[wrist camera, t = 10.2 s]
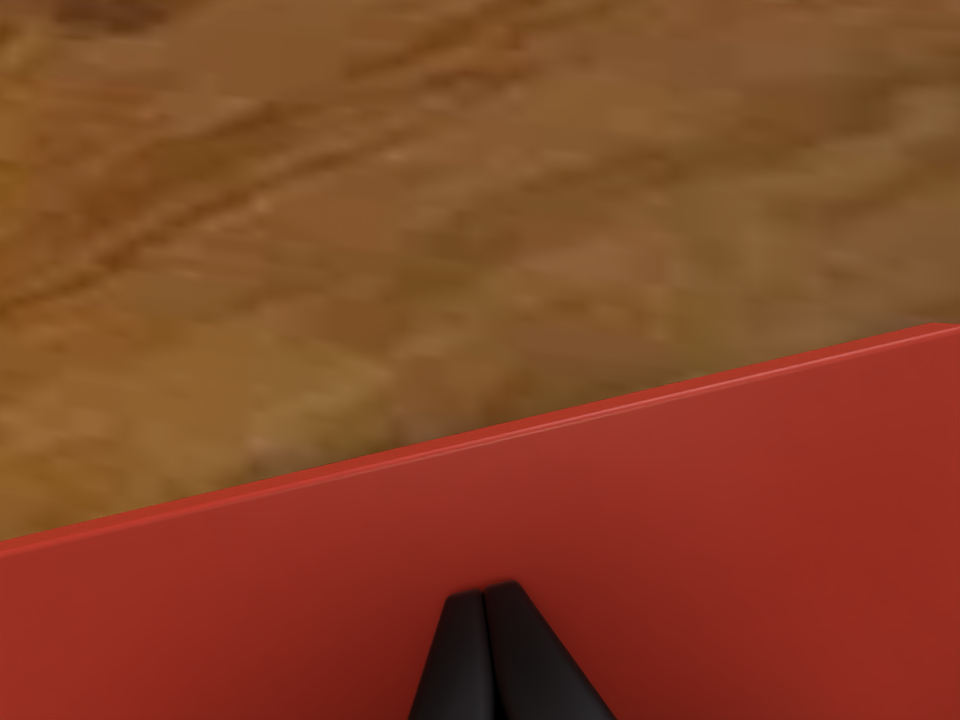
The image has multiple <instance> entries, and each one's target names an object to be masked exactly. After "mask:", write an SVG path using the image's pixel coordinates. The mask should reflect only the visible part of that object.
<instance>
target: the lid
mask: <svg viewBox="0 0 960 720" xmlns="http://www.w3.org/2000/svg"><path fill="white" fill-rule="evenodd" d="M508 580H516V581H517V582H519V583H520V585H521V586H522V587H523V589H524V590H525V591H526V593H527V594H528V596H529V597H530V598H531V600H532V601H533V603H534V604H535V605H536V607H537V608H538V610H539V611H540V612H541V614H542V615H543V617H544V618H545V619H546V621H547V622H548V623H549V625H550V626H551V628H552V629H553V630H554V632H555V633H556V635H557V636H558V637H559V639H560V640H561V642H562V643H563V644H564V646H565V647H566V648H567V650H568V651H569V653H570V654H571V655H572V657H573V658H574V660H575V661H576V662H577V664H578V665H579V667H580V668H581V669H582V671H583V672H584V674H585V675H586V676H587V678H588V679H589V680H590V682H591V683H592V685H593V686H594V687H595V689H596V690H597V692H598V693H599V694H600V696H601V697H602V699H603V700H604V701H605V703H606V704H607V705H608V707H609V708H610V710H611V711H612V712H613V714H614V715H615V717H616V718H617V719H618V720H960V324H947V323H928V324H924V325H919V326H915V327H911V328H907V329H902V330H898V331H894V332H890V333H885V334H881V335H877V336H873V337H868V338H864V339H860V340H856V341H851V342H847V343H843V344H838V345H834V346H830V347H826V348H821V349H817V350H813V351H809V352H804V353H800V354H796V355H792V356H787V357H783V358H779V359H775V360H770V361H766V362H762V363H758V364H753V365H749V366H745V367H741V368H736V369H732V370H728V371H724V372H719V373H715V374H711V375H707V376H702V377H698V378H694V379H690V380H685V381H681V382H677V383H673V384H668V385H664V386H660V387H656V388H651V389H647V390H643V391H639V392H634V393H630V394H626V395H622V396H617V397H613V398H609V399H605V400H600V401H596V402H592V403H587V404H583V405H579V406H575V407H570V408H566V409H562V410H558V411H553V412H549V413H545V414H541V415H536V416H532V417H528V418H524V419H519V420H515V421H511V422H507V423H502V424H498V425H494V426H490V427H485V428H481V429H477V430H473V431H468V432H464V433H460V434H456V435H451V436H447V437H443V438H439V439H434V440H430V441H426V442H422V443H417V444H413V445H409V446H405V447H400V448H396V449H392V450H388V451H383V452H379V453H375V454H371V455H366V456H362V457H358V458H354V459H349V460H345V461H341V462H336V463H332V464H328V465H324V466H319V467H315V468H311V469H307V470H302V471H298V472H294V473H290V474H285V475H281V476H277V477H273V478H268V479H264V480H260V481H256V482H251V483H247V484H243V485H239V486H234V487H230V488H226V489H222V490H217V491H213V492H209V493H205V494H200V495H196V496H192V497H188V498H183V499H179V500H175V501H171V502H166V503H162V504H158V505H154V506H149V507H145V508H141V509H137V510H132V511H128V512H124V513H120V514H115V515H111V516H107V517H103V518H98V519H94V520H90V521H85V522H81V523H77V524H73V525H68V526H64V527H60V528H56V529H51V530H47V531H43V532H39V533H34V534H30V535H26V536H22V537H17V538H13V539H9V540H5V541H0V720H407V719H408V715H409V712H410V709H411V706H412V703H413V700H414V697H415V693H416V690H417V687H418V684H419V681H420V678H421V675H422V672H423V668H424V665H425V662H426V659H427V656H428V653H429V650H430V646H431V643H432V640H433V637H434V634H435V631H436V628H437V624H438V621H439V618H440V615H441V612H442V609H443V606H444V603H445V600H446V599H447V597H448V596H449V595H450V594H453V593H457V592H461V591H465V590H470V589H474V588H478V589H480V590H481V591H482V592H483V590H484V588H485V587H486V586H488V585H491V584H495V583H499V582H504V581H508Z"/></svg>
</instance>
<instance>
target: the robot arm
mask: <svg viewBox="0 0 960 720" xmlns="http://www.w3.org/2000/svg"><path fill="white" fill-rule="evenodd" d="M407 720H618V719H617V718H616V717H615V715H614V714H613V712H612V711H611V710H610V708H609V707H608V705H607V704H606V703H605V701H604V700H603V699H602V697H601V696H600V694H599V693H598V692H597V690H596V689H595V687H594V686H593V685H592V683H591V682H590V680H589V679H588V678H587V676H586V675H585V674H584V672H583V671H582V669H581V668H580V667H579V665H578V664H577V662H576V661H575V660H574V658H573V657H572V655H571V654H570V653H569V651H568V650H567V648H566V647H565V646H564V644H563V643H562V642H561V640H560V639H559V637H558V636H557V635H556V633H555V632H554V630H553V629H552V628H551V626H550V625H549V623H548V622H547V621H546V619H545V618H544V617H543V615H542V614H541V612H540V611H539V610H538V608H537V607H536V605H535V604H534V603H533V601H532V600H531V598H530V597H529V596H528V594H527V593H526V591H525V590H524V589H523V587H522V586H521V585H520V583H519V582H517V581H516V580H508V581H504V582H499V583H495V584H491V585H488V586H486V587H485V588H484V590H483V592H482V591H481V590H480V589H478V588H474V589H470V590H465V591H461V592H457V593H453V594H450V595H449V596H448V597H447V599H446V600H445V603H444V606H443V609H442V612H441V615H440V618H439V621H438V624H437V628H436V631H435V634H434V637H433V640H432V643H431V646H430V650H429V653H428V656H427V659H426V662H425V665H424V668H423V672H422V675H421V678H420V681H419V684H418V687H417V690H416V693H415V697H414V700H413V703H412V706H411V709H410V712H409V715H408V719H407Z"/></svg>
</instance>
